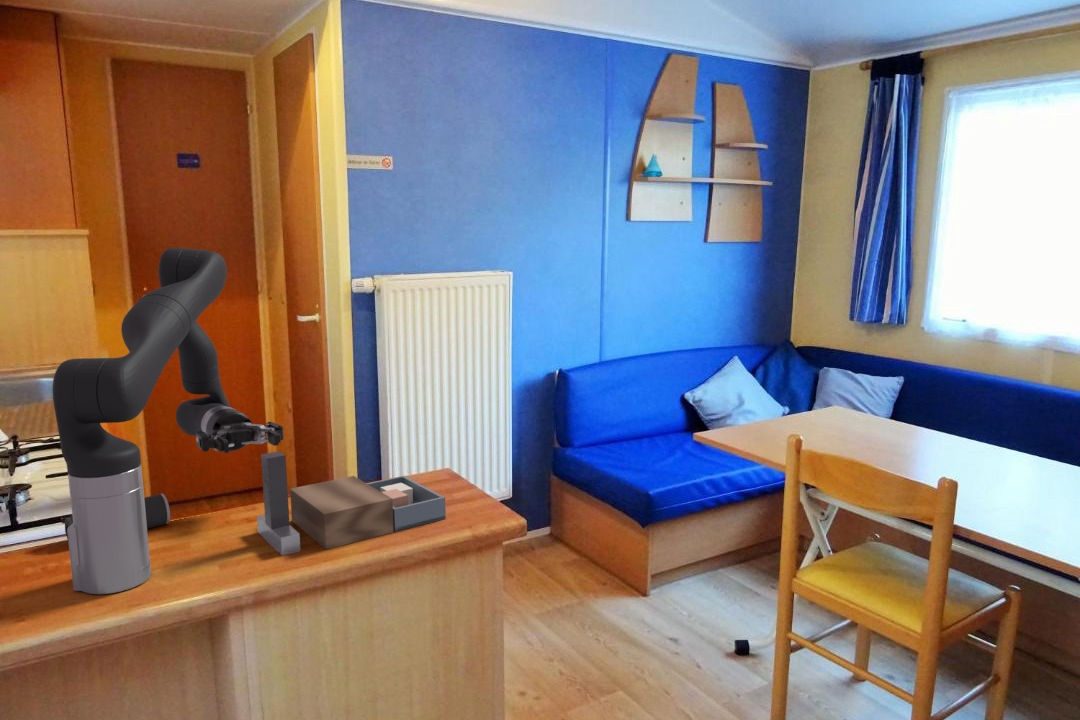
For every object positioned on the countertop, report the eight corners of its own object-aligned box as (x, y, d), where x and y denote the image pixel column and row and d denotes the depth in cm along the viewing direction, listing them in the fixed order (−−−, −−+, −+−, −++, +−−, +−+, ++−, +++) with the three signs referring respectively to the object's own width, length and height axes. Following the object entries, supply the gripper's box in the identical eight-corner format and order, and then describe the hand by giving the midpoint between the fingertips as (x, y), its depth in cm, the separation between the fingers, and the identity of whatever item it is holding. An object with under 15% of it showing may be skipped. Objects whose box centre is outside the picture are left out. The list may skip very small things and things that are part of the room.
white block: (412, 488, 142) (413, 503, 142) (401, 482, 145) (401, 497, 146) (391, 493, 139) (392, 508, 140) (380, 487, 142) (381, 502, 143)
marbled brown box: (326, 549, 123) (324, 514, 122) (291, 520, 135) (290, 488, 134) (393, 532, 130) (392, 498, 129) (354, 506, 143) (353, 475, 142)
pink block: (392, 498, 132) (407, 495, 134) (381, 492, 135) (396, 488, 137) (393, 522, 133) (408, 518, 135) (382, 515, 136) (397, 511, 138)
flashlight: (71, 552, 123) (67, 520, 122) (63, 542, 127) (60, 511, 126) (171, 527, 133) (168, 497, 132) (161, 519, 137) (158, 490, 136)
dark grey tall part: (281, 555, 121) (276, 464, 118) (258, 533, 130) (252, 448, 128) (300, 551, 122) (295, 461, 120) (275, 528, 132) (270, 445, 130)
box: (395, 531, 130) (394, 509, 130) (356, 506, 143) (355, 485, 142) (445, 518, 136) (445, 497, 136) (404, 495, 149) (403, 475, 148)
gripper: (185, 413, 140) (207, 428, 127) (262, 403, 149) (291, 417, 136) (187, 452, 141) (210, 471, 128) (265, 441, 150) (293, 457, 137)
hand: (252, 443), depth 132 cm, fingers open, 8 cm apart
